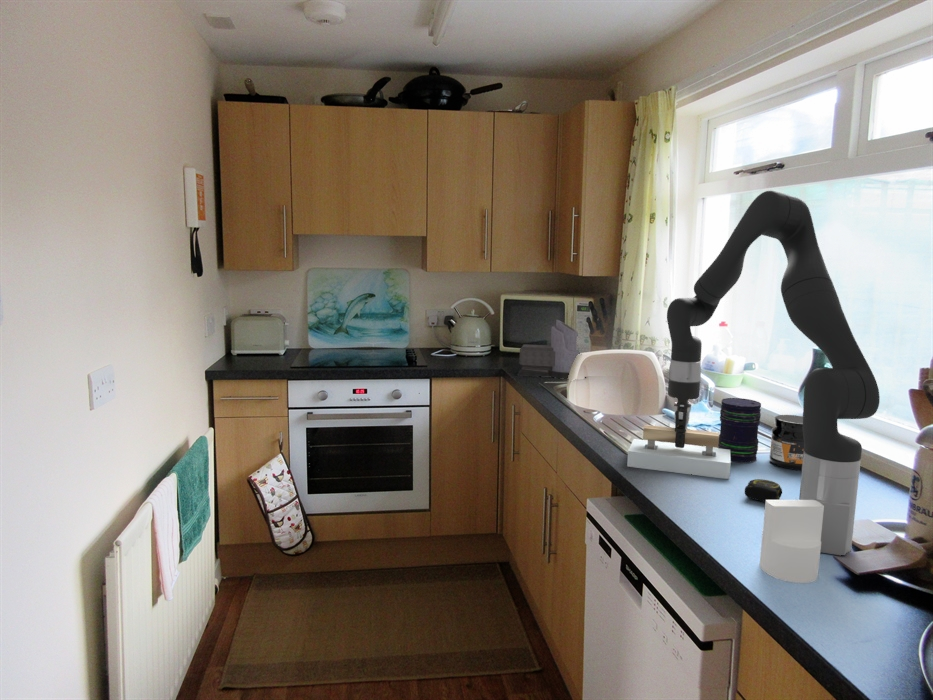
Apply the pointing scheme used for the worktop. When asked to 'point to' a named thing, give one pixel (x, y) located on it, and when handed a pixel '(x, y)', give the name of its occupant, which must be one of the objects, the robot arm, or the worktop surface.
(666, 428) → the miniature wooden bench
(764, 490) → the tape measure
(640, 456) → the slot board
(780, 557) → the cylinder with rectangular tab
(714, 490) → the worktop surface
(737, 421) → the storage jar
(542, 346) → the juicer
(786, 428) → the supplement container
